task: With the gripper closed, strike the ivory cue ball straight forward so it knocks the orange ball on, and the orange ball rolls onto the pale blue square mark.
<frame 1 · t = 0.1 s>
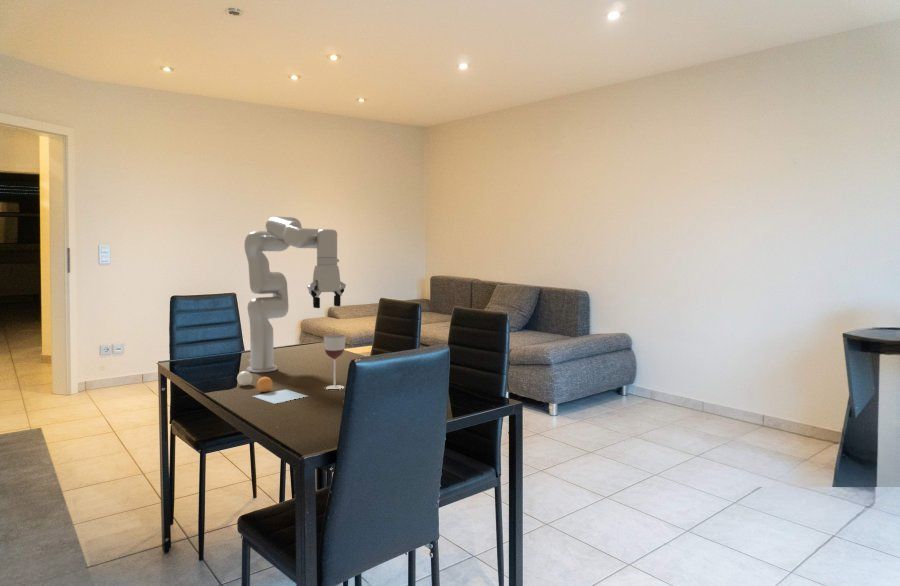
hand: (327, 307, 220), 31 cm above the table, tool pointing down, fingers open, 9 cm apart
cue ball: (244, 378, 223), on the table
orange ball: (264, 384, 214), on the table
blue mark: (280, 396, 208), on the table
wineglass: (334, 388, 223), on the table
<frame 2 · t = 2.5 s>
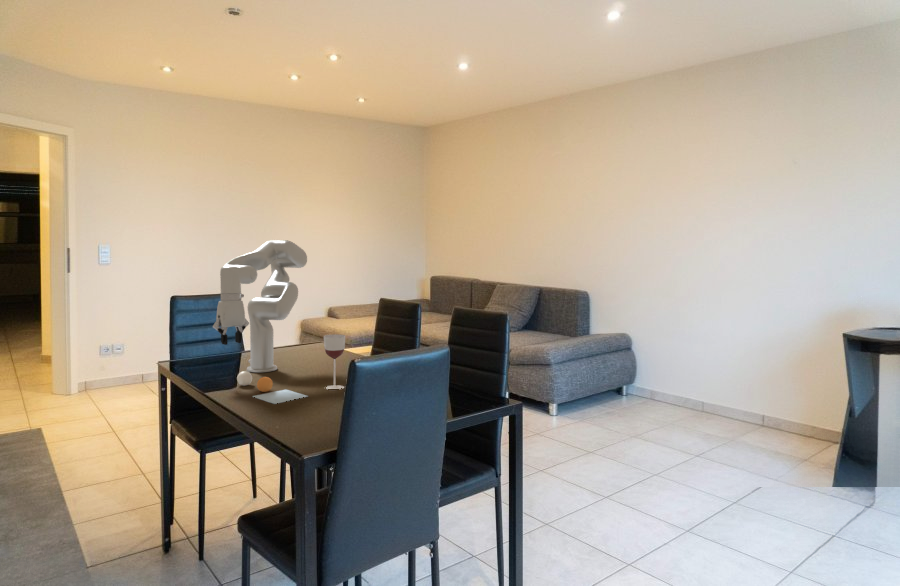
hand: (231, 342, 228), 15 cm above the table, tool pointing down, fingers open, 5 cm apart
nothing on the table moved.
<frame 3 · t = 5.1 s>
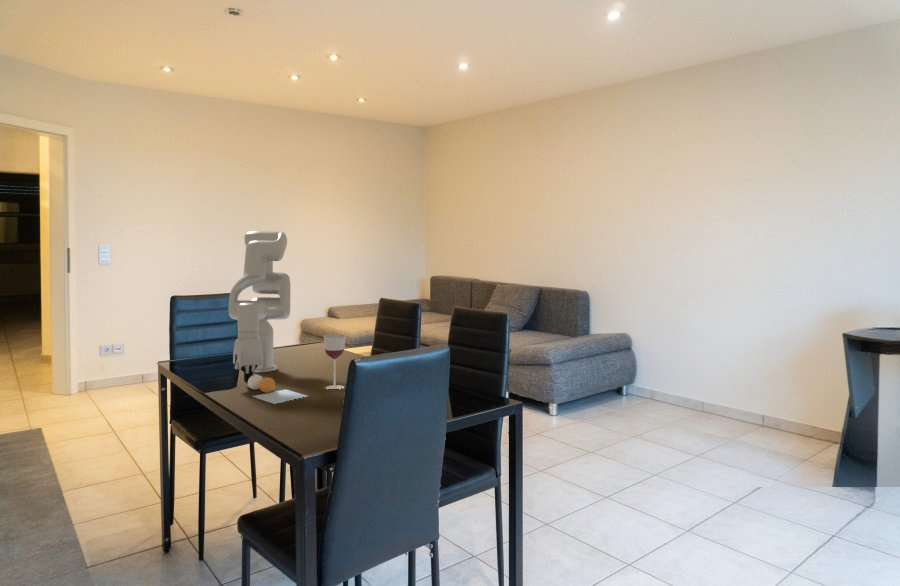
hand: (248, 382, 221), 2 cm above the table, tool pointing down, fingers closed
cue ball: (255, 382, 217), on the table
orange ball: (267, 385, 213), on the table
everything else where it was.
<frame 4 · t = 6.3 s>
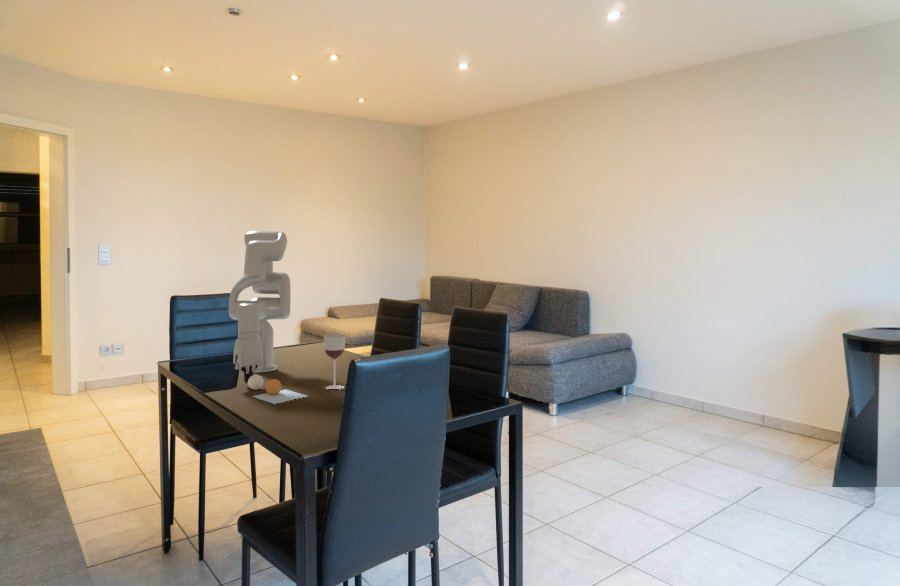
hand: (248, 382, 221), 2 cm above the table, tool pointing down, fingers closed
orange ball: (273, 386, 211), on the table
everything else where it was.
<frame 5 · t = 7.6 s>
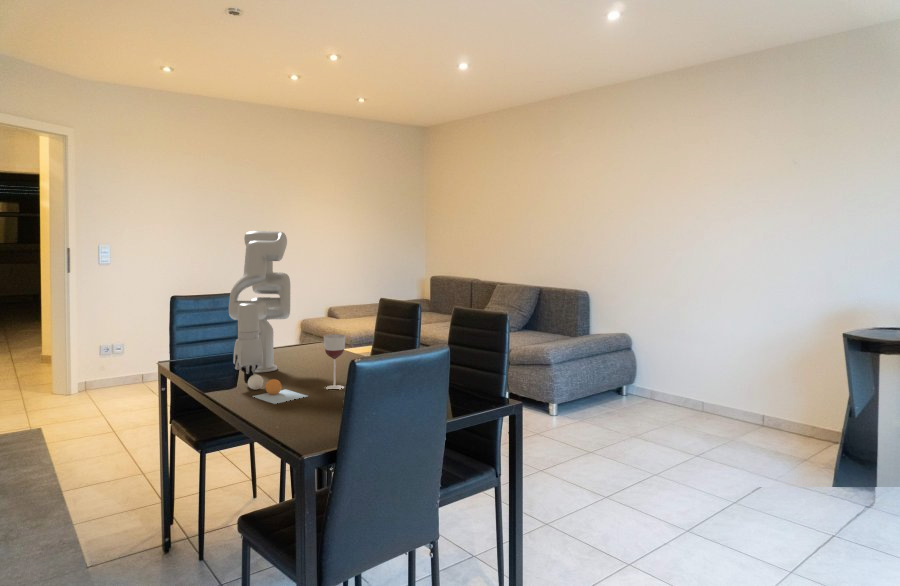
hand: (248, 382, 221), 2 cm above the table, tool pointing down, fingers closed
nothing on the table moved.
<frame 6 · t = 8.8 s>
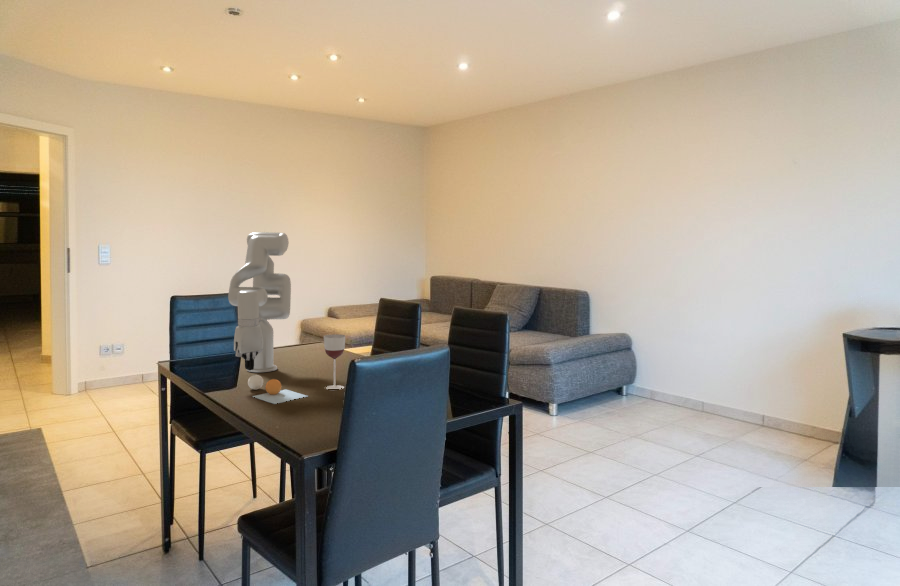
hand: (249, 369, 223), 6 cm above the table, tool pointing down, fingers closed
nothing on the table moved.
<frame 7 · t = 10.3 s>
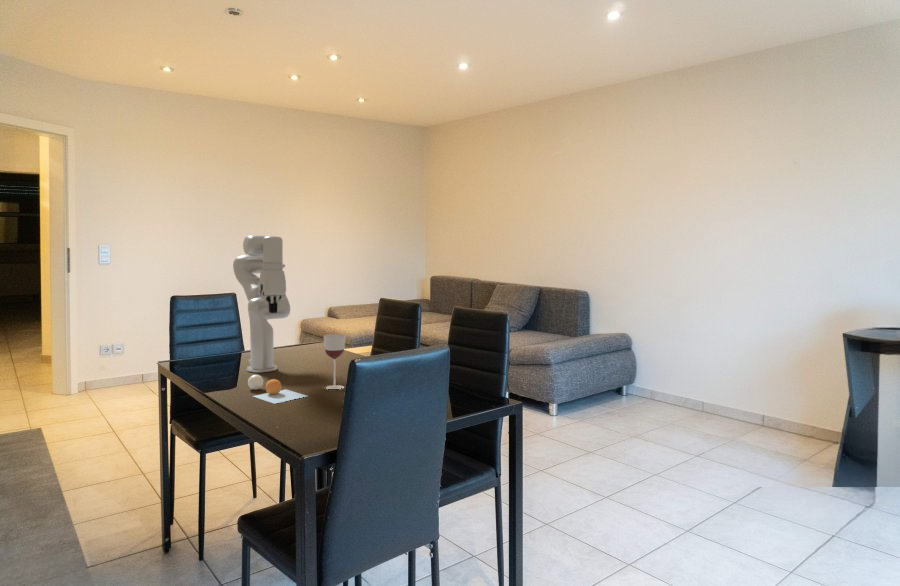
hand: (273, 312, 233), 27 cm above the table, tool pointing down, fingers closed
nothing on the table moved.
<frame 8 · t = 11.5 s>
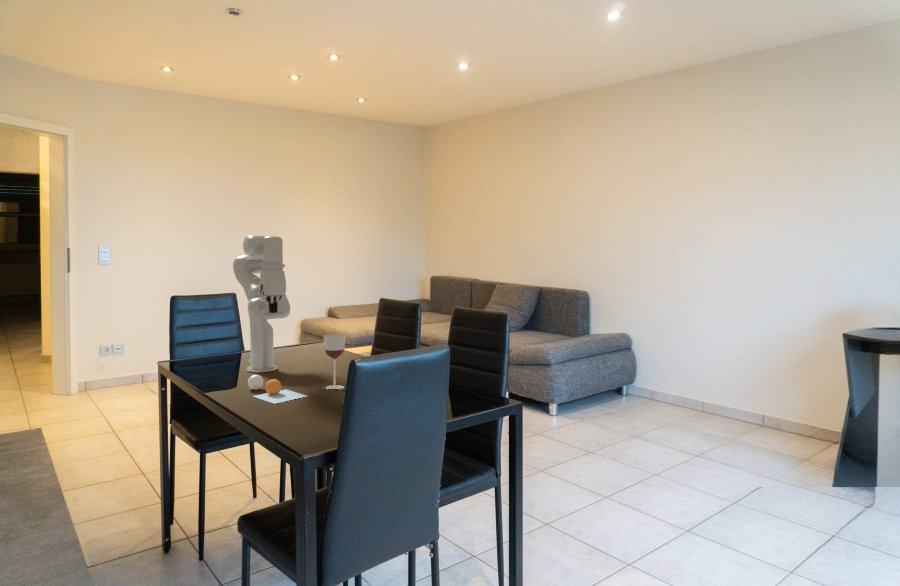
hand: (273, 312, 233), 27 cm above the table, tool pointing down, fingers closed
nothing on the table moved.
at the end: orange ball 4.4 cm from the blue mark (horizontally); orange ball never touched the robot; cue ball first touched orange ball at 4.9 s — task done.
